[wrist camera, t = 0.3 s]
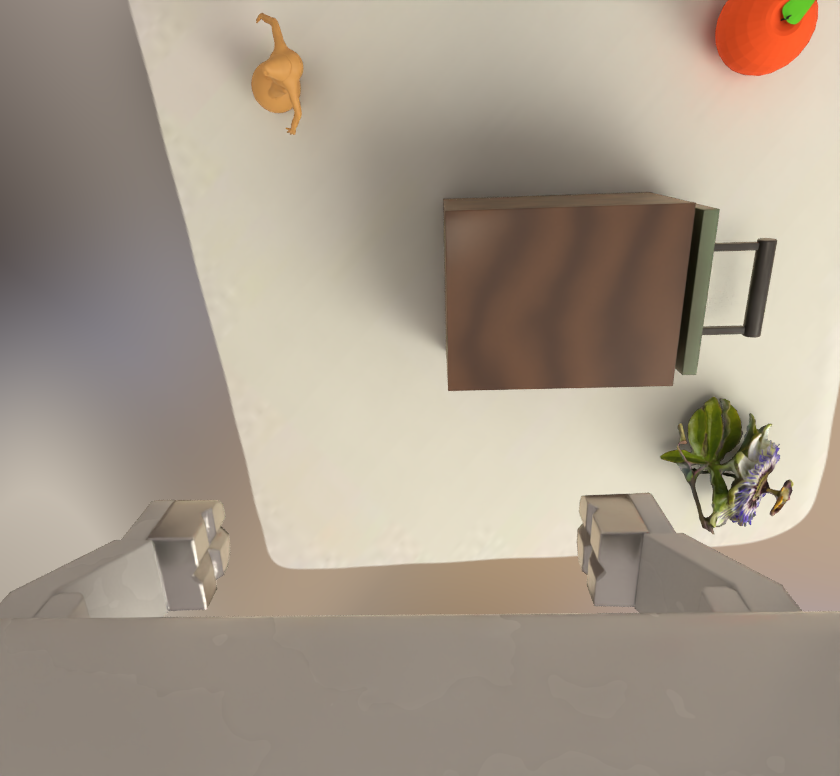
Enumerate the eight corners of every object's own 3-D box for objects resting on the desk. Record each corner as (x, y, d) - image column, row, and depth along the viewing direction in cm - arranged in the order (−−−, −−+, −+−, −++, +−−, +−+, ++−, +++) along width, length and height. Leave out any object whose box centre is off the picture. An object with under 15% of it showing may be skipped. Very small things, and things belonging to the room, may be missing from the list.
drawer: (742, 197, 55) (796, 206, 46) (720, 341, 60) (765, 373, 51) (480, 205, 55) (488, 216, 47) (479, 347, 60) (486, 379, 52)
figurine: (244, 40, 52) (192, 12, 41) (313, 22, 51) (279, -11, 40) (274, 144, 55) (233, 145, 44) (339, 129, 54) (315, 125, 43)
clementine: (761, -50, 49) (812, -80, 42) (815, 15, 50) (873, -4, 44) (682, 39, 51) (719, 23, 44) (737, 98, 53) (780, 92, 46)
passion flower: (720, 434, 70) (772, 534, 64) (630, 448, 69) (674, 552, 62) (770, 377, 61) (837, 488, 54) (667, 392, 59) (723, 507, 53)
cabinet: (649, 192, 55) (696, 202, 46) (634, 346, 61) (673, 386, 51) (443, 198, 56) (445, 210, 46) (446, 351, 61) (448, 391, 52)
